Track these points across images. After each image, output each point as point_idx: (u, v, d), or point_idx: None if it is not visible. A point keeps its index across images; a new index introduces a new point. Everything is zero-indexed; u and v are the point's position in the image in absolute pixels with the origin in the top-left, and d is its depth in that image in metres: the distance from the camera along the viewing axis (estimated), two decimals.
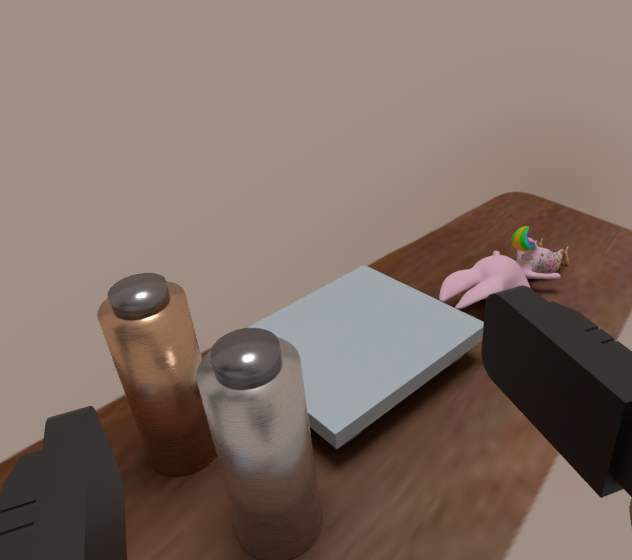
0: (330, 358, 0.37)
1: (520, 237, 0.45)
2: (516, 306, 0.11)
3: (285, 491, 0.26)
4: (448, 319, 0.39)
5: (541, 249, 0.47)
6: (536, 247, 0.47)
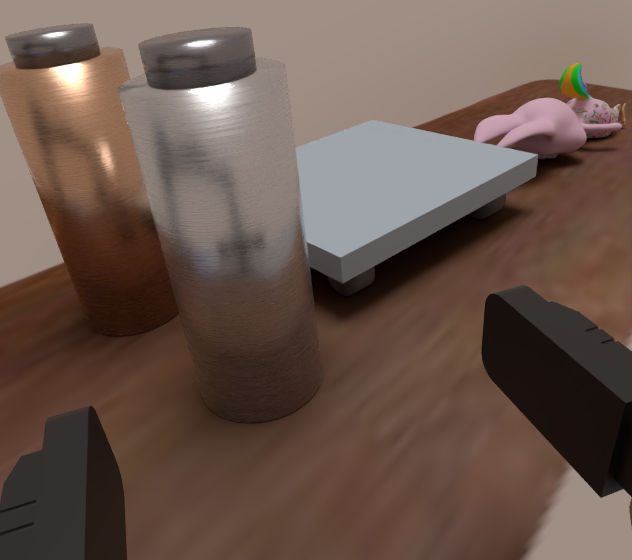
0: (332, 192, 0.28)
1: (572, 75, 0.36)
2: (516, 306, 0.11)
3: (266, 292, 0.17)
4: (486, 154, 0.30)
5: (595, 99, 0.38)
6: (589, 96, 0.38)
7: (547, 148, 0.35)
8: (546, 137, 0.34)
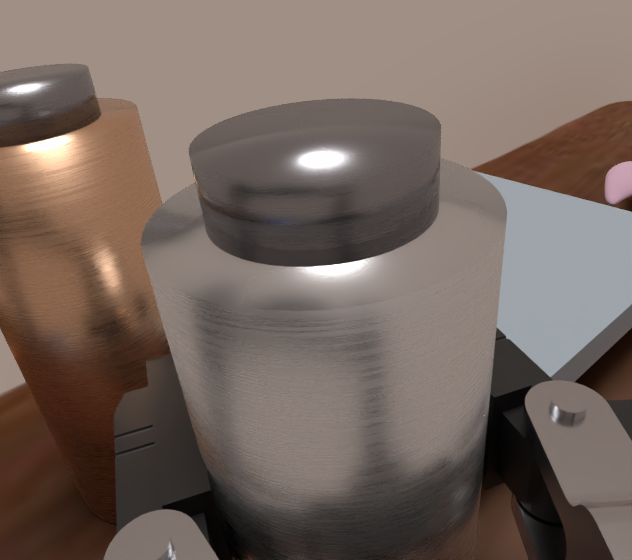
0: None
1: None
2: None
3: None
4: None
5: None
6: None
7: None
8: None
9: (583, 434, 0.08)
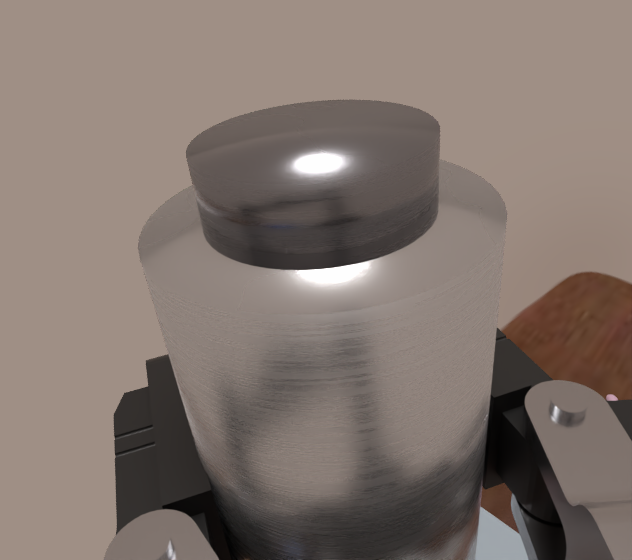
0: None
1: None
2: None
3: None
4: None
5: None
6: None
7: None
8: None
9: (582, 434, 0.08)
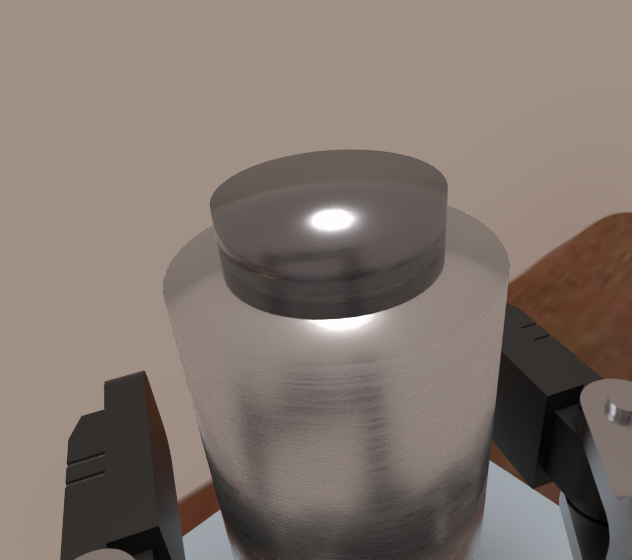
0: None
1: None
2: None
3: None
4: None
5: None
6: None
7: None
8: None
9: None
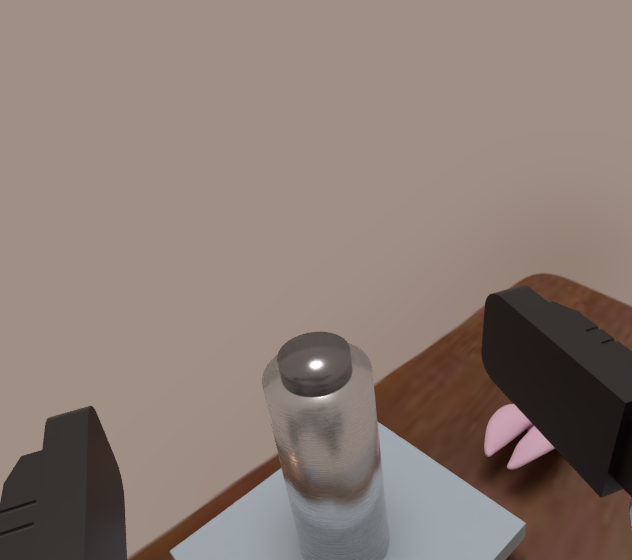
0: None
1: None
2: (516, 306, 0.11)
3: (357, 506, 0.25)
4: (472, 514, 0.29)
5: None
6: None
7: None
8: None
9: None
